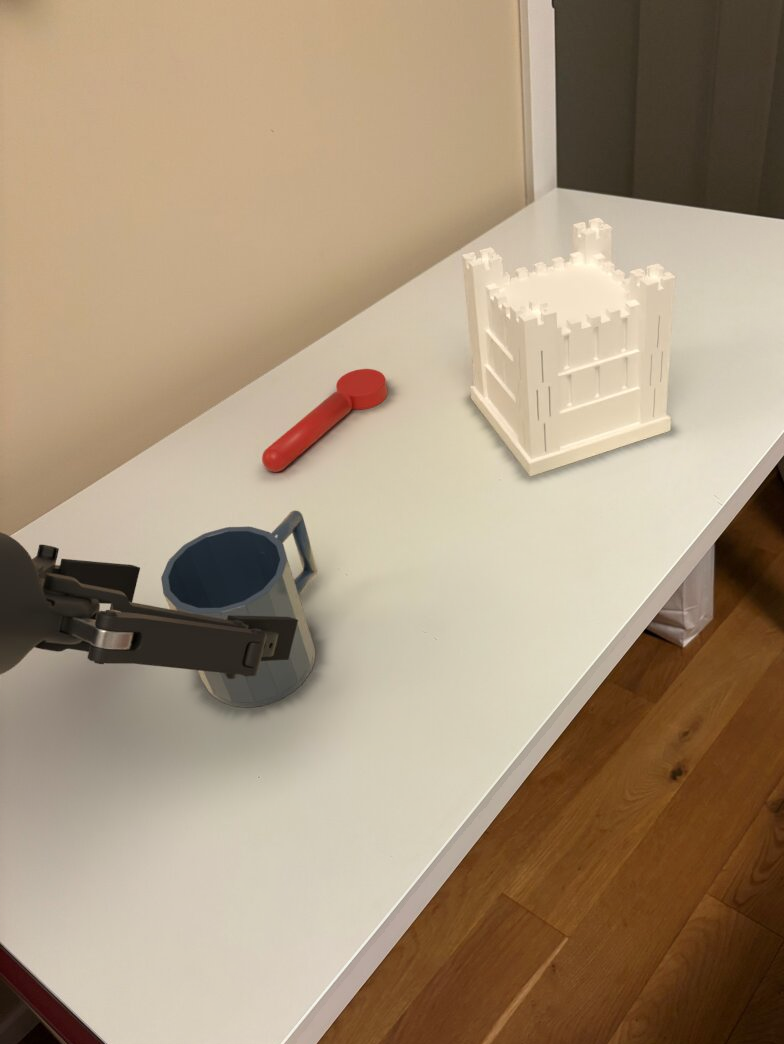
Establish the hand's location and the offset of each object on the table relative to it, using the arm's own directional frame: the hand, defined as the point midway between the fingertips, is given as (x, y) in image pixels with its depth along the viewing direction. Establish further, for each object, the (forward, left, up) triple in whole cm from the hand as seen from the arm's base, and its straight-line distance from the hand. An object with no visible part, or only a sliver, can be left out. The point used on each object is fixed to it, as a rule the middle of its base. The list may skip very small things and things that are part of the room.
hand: (207, 610), depth 65 cm
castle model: (-27, +32, -9) cm, 43 cm away
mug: (-4, +3, -8) cm, 10 cm away
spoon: (-32, +8, -8) cm, 34 cm away
